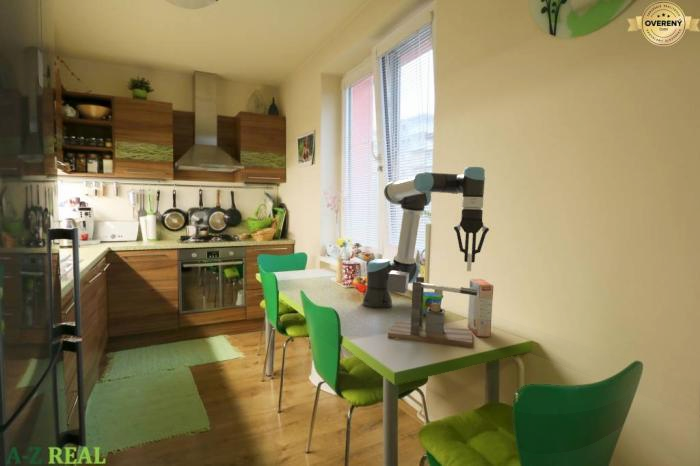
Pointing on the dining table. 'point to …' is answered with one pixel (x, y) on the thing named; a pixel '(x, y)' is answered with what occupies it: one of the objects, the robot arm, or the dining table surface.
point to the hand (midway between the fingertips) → (468, 270)
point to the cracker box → (480, 308)
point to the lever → (400, 285)
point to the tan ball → (435, 307)
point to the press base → (432, 338)
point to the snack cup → (430, 300)
